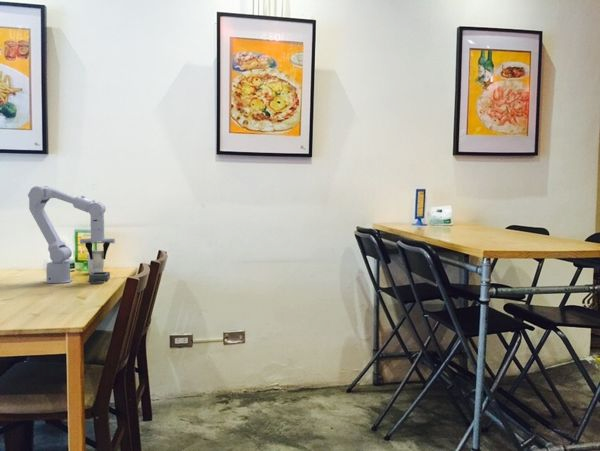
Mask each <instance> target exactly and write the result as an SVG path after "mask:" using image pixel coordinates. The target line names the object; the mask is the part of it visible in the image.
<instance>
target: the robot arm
mask: <svg viewBox="0 0 600 451" xmlns="http://www.w3.org/2000/svg"><path fill="white" fill-rule="evenodd" d="M27 196H28V202H29V203H28V206H29V207H28V208H29V212H30V213H31V216H32V217H33V219H34V220H35V222H36V224H37V226H38V228H39V230H40V232H41V234H42V235H43V238H44V239H45V241H46V243H47V244H48V247H47V250H48V252H49V258H50V260H51V262H47V264H46V269H45V270H46V271H45V272H46V284H66V283H71V282H72V280H73V278H71V260H70V258H71V257H72V254H73V253H72V249H71V248H70V247H69V246H67V244H66V243H65V242H64V241H63V240H61V238H60V236H59V234H58V232H57V230H56V229H55V227H54V225H53V223H52V222H51V220H50V218H49V216H48V214H47V212H46V210H45V206H46V205H47V203H48V201H50V199H57V200H61V201H63V202H66V203H70V204H72V206H73V207H74V208H75V209H77V210H81V211H83V212H85V213H89V215H90V219H89V220H90V238H80V239H79V244H82V245H83V244H84V246H85V248H86V250H87V252H88V253H89V255H90V260H92V259H93V255H92V251H93V244H102V247H103V248H102V251H103V252H104V253H103V259H104V260H106V257H107V252H108V249H109V247H110V245H111V244H116V240H115V238H105V212H106V210H107V209H106V206H105V205H104V203H101V201H100V202H99V201H98V202H96V199H89V198H86V196H85V195H77V196H73V195H71V194H68V193H67V192H64V191H61V190H60V189H57V188H53V187H50V186H47V185H46V186H45V185H44V186H37V185H36V186H33V187H31V188H30V190H29V192H28V194H27Z"/></svg>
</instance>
